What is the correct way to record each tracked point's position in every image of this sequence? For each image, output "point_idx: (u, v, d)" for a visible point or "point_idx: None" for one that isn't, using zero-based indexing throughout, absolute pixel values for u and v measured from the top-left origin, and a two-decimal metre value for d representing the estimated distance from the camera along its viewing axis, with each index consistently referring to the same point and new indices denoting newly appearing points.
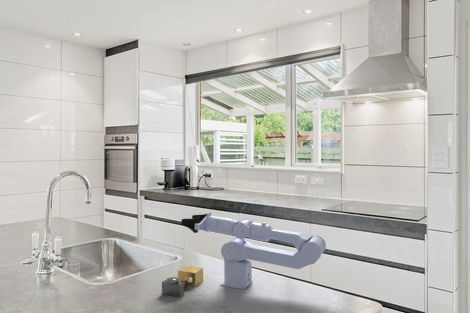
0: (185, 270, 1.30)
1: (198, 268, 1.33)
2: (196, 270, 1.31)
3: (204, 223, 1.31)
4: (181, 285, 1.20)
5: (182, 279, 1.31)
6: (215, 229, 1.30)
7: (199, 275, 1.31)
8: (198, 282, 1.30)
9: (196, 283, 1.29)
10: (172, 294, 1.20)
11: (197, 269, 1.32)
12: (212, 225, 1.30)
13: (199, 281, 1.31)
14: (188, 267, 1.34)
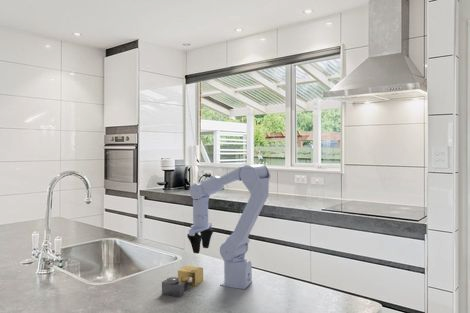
0: (185, 270, 1.30)
1: (198, 268, 1.33)
2: (196, 270, 1.31)
3: None
4: (181, 285, 1.20)
5: (182, 279, 1.31)
6: (200, 217, 1.36)
7: (199, 275, 1.31)
8: (198, 282, 1.30)
9: (196, 283, 1.29)
10: (172, 294, 1.20)
11: (197, 269, 1.32)
12: (196, 220, 1.36)
13: (199, 281, 1.31)
14: (188, 267, 1.34)
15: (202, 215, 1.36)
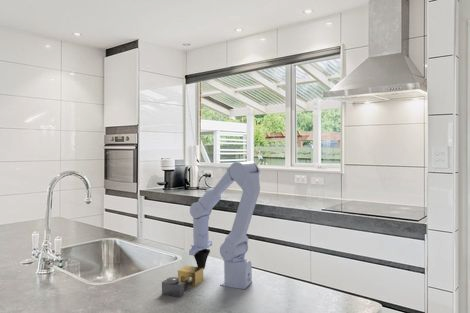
0: (185, 270, 1.30)
1: (198, 268, 1.33)
2: (196, 270, 1.31)
3: (195, 247, 1.37)
4: (181, 285, 1.20)
5: (182, 279, 1.31)
6: (200, 236, 1.36)
7: (199, 275, 1.31)
8: (198, 282, 1.30)
9: (196, 283, 1.29)
10: (172, 294, 1.20)
11: (197, 269, 1.32)
12: (197, 239, 1.37)
13: (199, 281, 1.31)
14: (188, 267, 1.34)
15: (202, 234, 1.36)
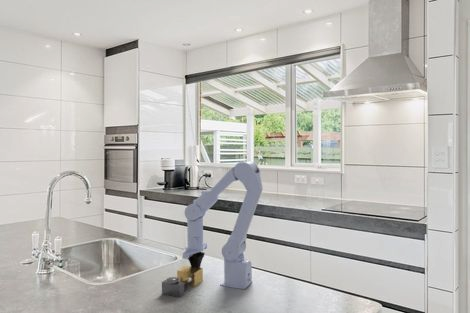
0: (184, 270, 1.30)
1: (197, 268, 1.32)
2: (195, 270, 1.30)
3: (189, 250, 1.33)
4: (181, 285, 1.20)
5: (181, 279, 1.31)
6: (194, 239, 1.32)
7: (198, 276, 1.30)
8: (197, 282, 1.30)
9: (195, 283, 1.28)
10: (172, 294, 1.20)
11: (196, 269, 1.31)
12: (191, 242, 1.33)
13: (198, 281, 1.30)
14: (187, 267, 1.33)
15: (199, 237, 1.33)
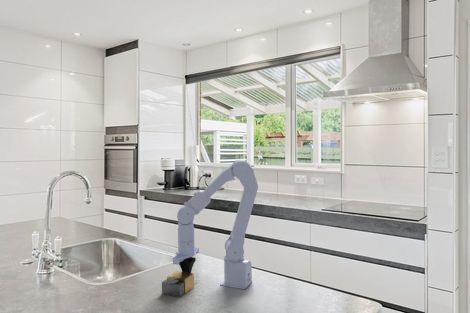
0: (175, 276, 1.24)
1: (188, 274, 1.26)
2: (186, 276, 1.24)
3: (180, 255, 1.27)
4: (181, 285, 1.20)
5: None
6: (185, 243, 1.26)
7: (189, 282, 1.24)
8: (188, 289, 1.24)
9: (186, 290, 1.23)
10: (172, 294, 1.20)
11: (187, 275, 1.25)
12: (181, 246, 1.27)
13: (189, 288, 1.25)
14: (178, 273, 1.27)
15: (192, 240, 1.28)
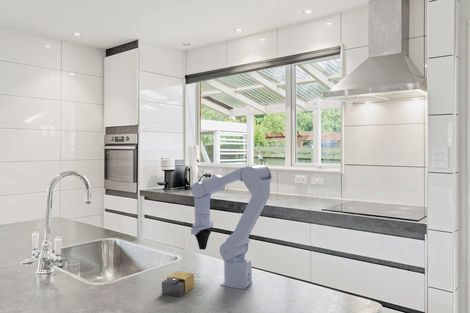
0: None
1: (189, 274, 1.26)
2: (186, 276, 1.24)
3: (197, 227, 1.36)
4: (181, 285, 1.20)
5: None
6: (201, 215, 1.36)
7: (189, 282, 1.24)
8: (188, 289, 1.24)
9: (186, 290, 1.23)
10: (172, 294, 1.20)
11: (187, 275, 1.25)
12: (198, 218, 1.36)
13: (189, 288, 1.25)
14: (178, 273, 1.27)
15: (203, 214, 1.36)
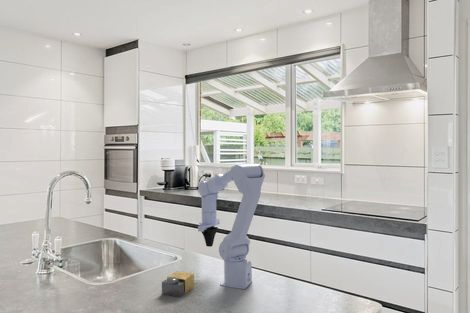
0: None
1: (189, 274, 1.26)
2: (186, 276, 1.24)
3: (204, 224, 1.41)
4: (181, 285, 1.20)
5: None
6: (208, 213, 1.40)
7: (189, 282, 1.24)
8: (188, 289, 1.24)
9: (186, 290, 1.23)
10: (172, 294, 1.20)
11: (187, 275, 1.25)
12: (205, 216, 1.41)
13: (189, 288, 1.25)
14: (178, 273, 1.27)
15: (208, 212, 1.40)
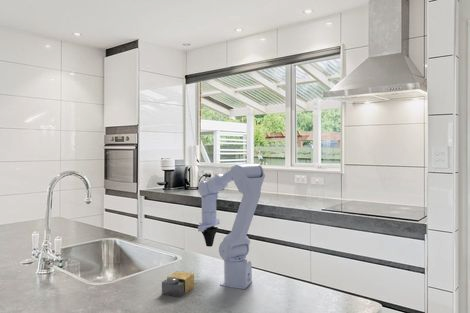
0: None
1: (189, 274, 1.26)
2: (186, 276, 1.24)
3: (204, 224, 1.41)
4: (181, 285, 1.20)
5: None
6: (208, 213, 1.40)
7: (189, 282, 1.24)
8: (188, 289, 1.24)
9: (186, 290, 1.23)
10: (172, 294, 1.20)
11: (187, 275, 1.25)
12: (205, 216, 1.41)
13: (189, 288, 1.25)
14: (178, 273, 1.27)
15: (208, 212, 1.40)
